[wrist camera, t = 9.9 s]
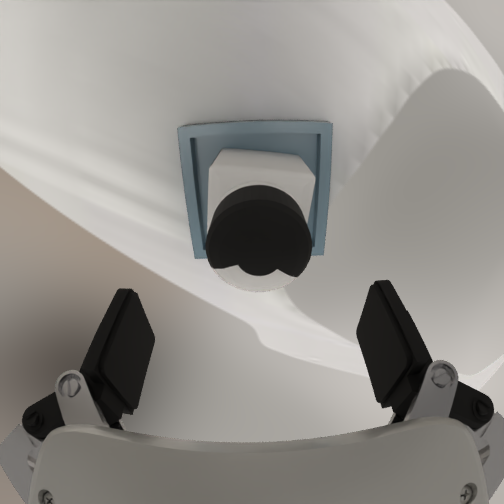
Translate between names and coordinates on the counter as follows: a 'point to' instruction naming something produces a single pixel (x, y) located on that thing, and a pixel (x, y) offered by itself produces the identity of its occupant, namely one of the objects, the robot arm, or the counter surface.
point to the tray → (262, 139)
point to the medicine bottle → (258, 218)
